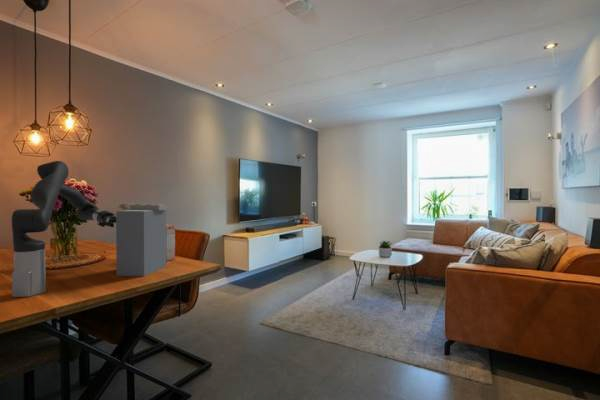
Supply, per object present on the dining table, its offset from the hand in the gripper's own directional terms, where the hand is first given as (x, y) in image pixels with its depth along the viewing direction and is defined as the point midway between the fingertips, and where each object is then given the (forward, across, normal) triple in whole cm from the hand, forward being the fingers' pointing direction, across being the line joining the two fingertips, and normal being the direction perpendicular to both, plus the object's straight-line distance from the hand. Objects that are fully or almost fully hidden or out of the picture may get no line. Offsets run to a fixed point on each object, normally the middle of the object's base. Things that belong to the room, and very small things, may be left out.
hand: (121, 223), depth 158 cm
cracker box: (+5, +21, +27) cm, 35 cm away
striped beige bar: (+8, +6, -8) cm, 12 cm away
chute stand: (+18, -1, +21) cm, 28 cm away
